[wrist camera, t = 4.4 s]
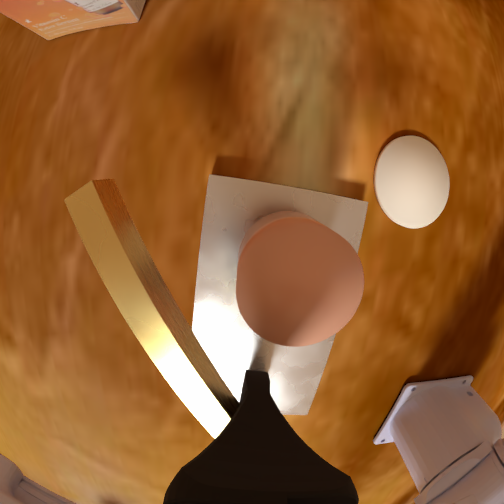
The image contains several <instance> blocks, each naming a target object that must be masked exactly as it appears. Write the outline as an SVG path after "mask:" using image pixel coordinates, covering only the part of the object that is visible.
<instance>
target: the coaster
mask: <svg viewBox="0 0 504 504" xmlns="http://www.w3.org/2000/svg"><path fill="white" fill-rule="evenodd" d="M374 190H375V194H376V197H377V200H378V203H379V205H380V207H381V208H382V210H383V211H384V213H385V214H386V215H387V216H388V217H389V218H390V219H391V220H392V221H394V222H395V223H397V224H399V225H401V226H404V227H407V228H421V227H424V226H427V225H429V224H431V223H432V222H433V221H434V220H435V219H436V218H437V217H438V216H439V215H440V214H441V212H442V211H443V209H444V207H445V205H446V202H447V199H448V194H449V174H448V169H447V166H446V163H445V161H444V159H443V157H442V155H441V154H440V152H439V151H438V149H437V148H436V147H435V146H434V145H433V144H432V143H430V142H429V141H427V140H426V139H424V138H421V137H418V136H403V137H399V138H396V139H394V140H392V141H391V142H389V143H388V144H387V145H386V146H385V147H384V148H383V150H382V151H381V153H380V154H379V156H378V159H377V161H376V164H375V169H374Z"/></svg>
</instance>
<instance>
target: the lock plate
mask: <svg viewBox="0 0 504 504" xmlns="http://www.w3.org/2000/svg"><path fill="white" fill-rule="evenodd" d="M367 206H368V202H365V201H361V200H357V199H352V198H347V197H343V196H338V195H333V194H328V193H323V192H318V191H312V190H307V189H302V188H296V187H291V186H285V185H279V184H273V183H267V182H260V181H254V180H247V179H240V178H233V177H226V176H218V175H209V180H208V187H207V194H206V201H205V209H204V217H203V225H202V233H201V242H200V251H199V260H198V270H197V280H196V291H195V302H194V314H193V327H192V331H193V333H194V335H195V336H196V338H197V339H198V341H199V343H200V344H201V346H202V347H203V349H204V351H205V352H206V354H207V355H208V357H209V359H210V360H211V362H212V363H213V365H214V366H215V368H216V369H217V371H218V372H219V374H220V375H221V377H222V378H223V380H224V381H225V383H226V384H227V386H228V387H229V389H230V390H231V392H232V393H233V395H234V396H235V397H236V399H237V400H238V402H239V401H240V396H241V391H242V385H243V380H244V375H245V370H253V371H261V372H268V374H269V378H270V394H271V396H272V398H273V400H274V401H275V403H276V405H277V407H278V408H279V410H280V412H281V413H282V414H284V415H307V414H308V411H309V409H310V406H311V403H312V401H313V398H314V396H315V393H316V390H317V388H318V385H319V382H320V379H321V377H322V374H323V371H324V368H325V365H326V362H327V359H328V356H329V353H330V350H331V347H332V344H333V341H334V338H335V335H336V334H334V335H333V336H331V337H329V338H328V339H325V340H323V341H321V342H318V343H315V344H312V345H307V346H300V347H289V346H282V345H278V344H274V343H272V342H269V341H267V340H265V339H264V338H262V337H260V336H259V335H257V334H256V333H255V332H254V331H253V330H252V329H251V328H250V327H249V326H248V325H247V323H246V322H245V321H244V319H243V317H242V315H241V313H240V311H239V308H238V305H237V300H236V278H237V263H238V252H239V247H240V244H241V242H242V239H243V237H244V236H245V234H246V233H247V231H248V230H249V229H250V228H251V226H252V225H253V224H255V223H256V222H257V221H258V220H260V219H261V218H263V217H265V216H267V215H269V214H272V213H275V212H280V211H296V212H300V213H304V214H306V215H309V216H310V217H312V218H314V219H316V220H317V221H319V222H320V223H322V224H324V225H325V226H327V227H328V228H330V229H331V230H333V231H334V232H336V233H338V234H339V235H341V236H342V237H343V238H344V239H346V240H347V241H348V242H349V243H350V244H351V246H352V247H353V248H354V250H355V251H356V253H358V249H359V245H360V240H361V236H362V231H363V226H364V221H365V216H366V211H367Z"/></svg>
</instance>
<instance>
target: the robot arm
mask: <svg viewBox="0 0 504 504" xmlns="http://www.w3.org/2000/svg"><path fill="white" fill-rule="evenodd" d="M472 381H473V377H472V376H471V375H469V376H463V377H457V378H450V379H443V380H435V381H426V382H416V383H408V384H406V385H405V386H404V388H403V390H402V392H401V394H400V395H399V397H398V399H397V401H396V403H395V405H394V407H393V408H392V410H391V412H390V414H389V415H388V417H387V419H386V420H385V422H384V424H383V425H382V427H381V429H380V430H379V432H378V434H377V435H376V437H375V438H374V440H373V442H374V444H382V443H389V442H395V444H396V446H397V448H398V450H399V452H400V454H401V456H402V458H403V460H404V462H405V464H406V466H407V468H408V470H409V472H410V474H411V476H412V479H413V481H414V483H415V485H416V487H417V489H418V491H419V493H420V495H418V496H417V497H416V498H414V501H415V503H416V504H504V439H501V435H502V434H501V433H502V430H501V424H500V421H499V418H498V417H497V415H496V414H495V413H494V412H493V410H492V409H491V408H490V407H489V406H488V405H487V404H486V402H485V401H484V400H483V399H482V398H481V397H480V396H479V395H478V393H477V392H476V391H475V390H474V389H473V388H472V387H471V386H470V384H471V382H472ZM358 501H359V498H358V495H357V491H356V489H355V486H354V484H353V482H352V480H351V477H350V476H348V475H346V474H345V473H343V472H341V471H340V470H338V469H337V468H335V467H333V466H332V465H330V464H329V463H328V462H326V461H325V460H324V459H322V458H321V457H320V456H319V455H318V454H316V453H315V452H314V451H313V450H312V449H311V448H310V447H309V446H308V445H307V444H306V443H305V442H304V441H303V440H302V439H301V438H300V437H299V436H298V435H297V434H296V432H295V431H294V430H293V429H292V427H291V426H290V425H289V423H288V422H287V421H286V419H285V418H284V416H283V415H282V413H281V412H280V410H279V408H278V407H277V405H276V403H275V401H274V400H273V398H272V396H271V394H270V378H269V374H268V372H261V371H253V370H245V375H244V380H243V385H242V391H241V396H240V401H239V407H238V409H237V410H236V412H235V414H234V415H233V417H232V418H231V420H230V421H229V423H228V424H227V425H226V427H225V428H224V429H223V430H222V432H221V433H220V434H219V435H218V436H217V437H216V439H215V440H214V441H213V442H212V443H211V444H210V445H209V446H208V447H207V448H205V449H204V450H203V451H202V452H201V453H200V454H199V455H198V456H197V457H195V458H194V459H193V460H191V461H190V462H189V463H187V464H186V465H185V466H183V467H182V468H181V469H180V471H179V472H178V473H177V475H176V476H175V477H174V479H173V480H172V482H171V483H170V485H169V487H168V489H167V491H166V493H165V497H164V502H163V504H358ZM0 504H76V503H74V502H72V501H70V500H68V499H65V498H63V497H61V496H59V495H57V494H55V493H54V492H52V491H50V490H48V489H46V488H44V487H42V486H41V485H39V484H37V483H35V482H34V481H32V480H30V479H29V478H27V477H25V476H24V475H23V473H22V472H21V470H20V469H19V468H18V467H17V466H16V465H15V464H14V463H13V462H12V461H10V460H9V459H8V458H6V457H5V456H3V455H2V454H0Z"/></svg>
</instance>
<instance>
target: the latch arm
mask: <svg viewBox="0 0 504 504" xmlns="http://www.w3.org/2000/svg"><path fill="white" fill-rule="evenodd" d="M64 201H65V203H66V205H67V208H68V210H69V213H70V215H71V217H72V219H73V222H74V224H75V226H76V228H77V231H78V233H79V235H80V237H81V239H82V241H83V243H84V245H85V247H86V249H87V252H88V254H89V256H90V258H91V259H92V261H93V263H94V265H95V267H96V269H97V271H98V273H99V275H100V277H101V279H102V280H103V282H104V284H105V286H106V288H107V289H108V291H109V293H110V295H111V296H112V298H113V300H114V302H115V303H116V305H117V307H118V308H119V310H120V312H121V313H122V315H123V317H124V318H125V320H126V322H127V323H128V325H129V326H130V328H131V329H132V331H133V333H134V334H135V336H136V337H137V339H138V340H139V342H140V343H141V345H142V346H143V348H144V349H145V351H146V352H147V354H148V355H149V357H150V358H151V359H152V361H153V362H154V364H155V365H156V366H157V368H158V369H159V371H160V372H161V373H162V375H163V376H164V377H165V379H166V380H167V382H168V383H169V384H170V385H171V387H172V388H173V389H174V391H175V392H176V393H177V395H178V396H179V397H180V398H181V400H182V401H183V402H184V403H185V405H186V406H187V407H188V408H189V410H190V411H191V412H192V413H193V414H194V416H195V417H196V418H197V419H198V420H199V422H200V423H201V424H202V425H203V426H204V427H205V428H206V430H207V431H208V432H209V433H210V434H211V435H212V436H213V437H214V439H216V437H217V436H218V435H219V434H220V433H221V432H222V430H223V429H224V428H225V427H226V425H227V424H228V423H229V421H230V420H231V418H232V417H233V415H234V414H235V412H236V410H237V409H238V407H239V402H238V400H237V399H236V397H235V396H234V395H233V393H232V392H231V390H230V389H229V387H228V386H227V384H226V383H225V381H224V380H223V378H222V377H221V375H220V374H219V372H218V371H217V369H216V368H215V366H214V365H213V363H212V362H211V360H210V359H209V357H208V355H207V354H206V352H205V351H204V349H203V347H202V346H201V344H200V343H199V341H198V339H197V338H196V336H195V335H194V333H193V331H192V330H191V328H190V326H189V325H188V323H187V321H186V319H185V318H184V316H183V314H182V313H181V311H180V309H179V307H178V306H177V304H176V302H175V301H174V299H173V297H172V295H171V293H170V292H169V290H168V288H167V286H166V284H165V283H164V281H163V279H162V277H161V275H160V273H159V271H158V270H157V268H156V266H155V264H154V262H153V260H152V258H151V256H150V254H149V252H148V250H147V248H146V246H145V244H144V243H143V241H142V239H141V236H140V234H139V232H138V230H137V228H136V226H135V224H134V222H133V220H132V218H131V216H130V214H129V212H128V209H127V207H126V205H125V203H124V201H123V199H122V196H121V194H120V192H119V190H118V187H117V185H116V183H115V180H114V179H104V180H92V181H90V182H89V183H87V184H86V185H84V186H83V187H81V188H80V189H78V190H77V191H76V192H74V193H73V194H71V195H70V196H69V197H67V198H66V199H65V200H64Z"/></svg>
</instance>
